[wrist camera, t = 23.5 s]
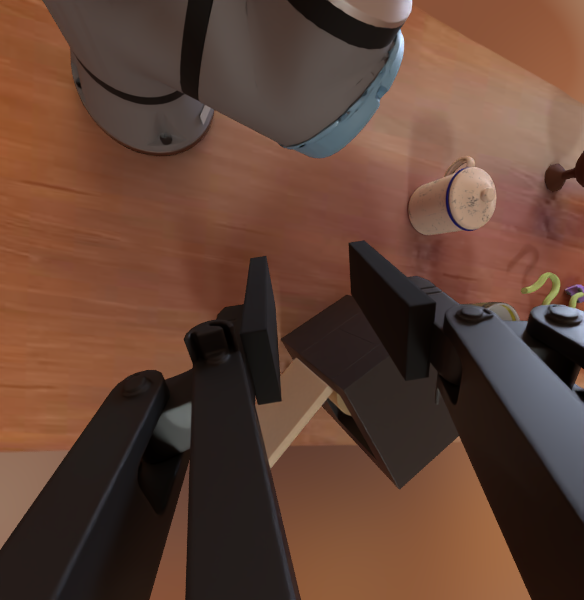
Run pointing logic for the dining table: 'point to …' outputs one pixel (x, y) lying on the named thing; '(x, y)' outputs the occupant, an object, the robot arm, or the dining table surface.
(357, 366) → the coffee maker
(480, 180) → the teacup with lid
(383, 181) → the dining table surface
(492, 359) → the robot arm
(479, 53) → the dining table surface
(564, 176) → the ice cream bowl
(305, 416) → the chamber door
